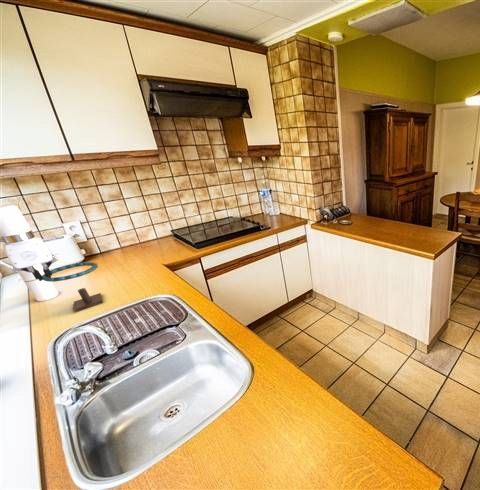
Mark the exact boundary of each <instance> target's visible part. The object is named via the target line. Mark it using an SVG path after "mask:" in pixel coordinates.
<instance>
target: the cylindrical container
mask: <svg viewBox="0 0 480 490" xmlns="http://www.w3.org/2000/svg"><path fill="white" fill-rule="evenodd" d="M5 255H6V256H7V254H6V253H5ZM33 267H34V268H35V269H36V270H38V271H39V273H40V274H41V276H42V275H43V274H45V273H44V272H43V266H42V265H41V264H38V265H34V266H33ZM16 272H17V273H18V275H19V276H20V278H21V280H22V281H23V282H24V284H25V285H26V287H27V288H28V290H29V292H30V293H31V294H32V296H33V297H34V299H35V300H36V302H45V301H48V300H51V299H53V298H55V297H57V296H58V295H59V292H58V290H57V289H56V287H55V286H54V284H53V282H47V281H44V280H42V281H39V279H36V278H35V277H34V275H33V274H32V273H30V272H26V271H16Z"/></svg>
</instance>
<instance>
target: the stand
mask: <svg viewBox="0 0 480 490" xmlns="http://www.w3.org/2000/svg"><path fill="white" fill-rule="evenodd" d="M77 292H78V294H79V296H80V297H81V299H77V300H75V301H73V311H74V312H75V313H77V312H81V311H83V310H86V309H88V308H92V307H94V306H97V305H100V304H103V303H104V300H103V295H102V293H101V292H99V293H96V294H93V295H90V294H89V293H88V291H87V289H86V288H85V287H82V288H80V289H78V290H77Z"/></svg>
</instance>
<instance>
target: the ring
mask: <svg viewBox="0 0 480 490" xmlns="http://www.w3.org/2000/svg"><path fill="white" fill-rule="evenodd" d="M79 267H90V268H88V269H85V270H82V271H79V272H76V273H73V274H69V275H64V276H55V277H51V278H49V277H46V275H45V274H43V275H42V277H41V279H42V280H44V281H47V282H52V283H53V282H61V281H68V280H72V279H76V278H79V277H82V276H86V275H88V274H90V273H92V272H94V271H95V270H97V269H98V268H99V265H98V263H96V262H93V261H83V262H76V263H71V264H70V263H69V264H66V265H62V266H59V267H56V268H54V269H53V268H52V269H51V270H50V271H51V273H52V275H54V274H56V273H58V272H61V271H65V270H68V269H69V270H70V269H72V268H79Z"/></svg>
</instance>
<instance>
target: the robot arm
mask: <svg viewBox="0 0 480 490" xmlns="http://www.w3.org/2000/svg"><path fill="white" fill-rule="evenodd" d="M0 243H3V249H4V252H5V255H6V254H7V255H6V256H7V258H8V260H9V261H10V263H11V265H12V271H13V272H17V271H26V272H30V273H32V274H33V275H34V277H35V278H36V279H39V281H42V279H41V277H42V276H41V274H40V273H39V271H38V270H36V269H35V268H34V267H33V266H34V265H38V264H41V266H42V267H43V272H44V273H45V275H46V277H49V278H52V276H53V274H52V273H51V270H50V267H51V266H52V265H53V264H54V263H56V262H58V261H59V258H58V257H57V256H55V255H54V254H53V253H52V251H51V250H50V249H49V248H48V246H47V244H46V243H45V242H44V241H43V240H42V239H41V238H40V237H39V236H36V235H35V233H34V232H33V230H32V228H31V226H30V225H29V223H28V221H27V220H26V218H25V217H24V215H23V213H22V211H21V210H20V208H19V207H18V206H17V205H14V204H6V205H3V204H2V205H0Z"/></svg>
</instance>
